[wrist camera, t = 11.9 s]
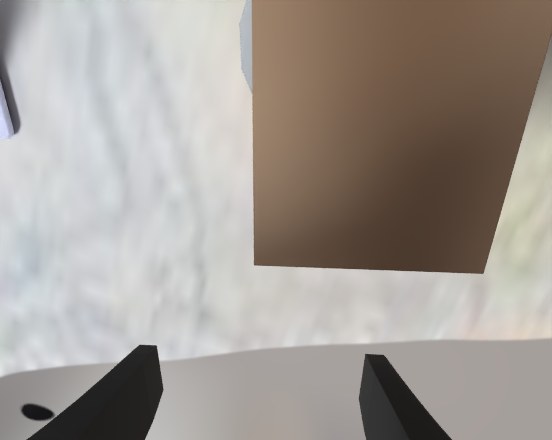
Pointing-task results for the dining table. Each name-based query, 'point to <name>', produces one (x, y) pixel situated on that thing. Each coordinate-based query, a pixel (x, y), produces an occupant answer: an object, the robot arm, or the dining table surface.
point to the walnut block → (389, 128)
